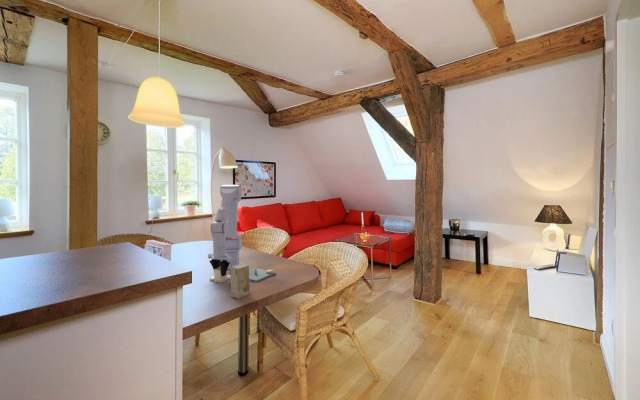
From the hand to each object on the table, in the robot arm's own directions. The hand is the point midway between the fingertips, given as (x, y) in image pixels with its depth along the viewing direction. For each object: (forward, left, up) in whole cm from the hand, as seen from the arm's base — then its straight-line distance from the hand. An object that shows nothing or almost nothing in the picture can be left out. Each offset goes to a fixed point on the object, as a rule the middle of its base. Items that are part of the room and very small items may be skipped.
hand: (220, 274), depth 144 cm
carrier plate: (+11, +12, -2) cm, 16 cm away
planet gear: (0, 0, -2) cm, 2 cm away
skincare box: (+23, -10, -2) cm, 25 cm away
